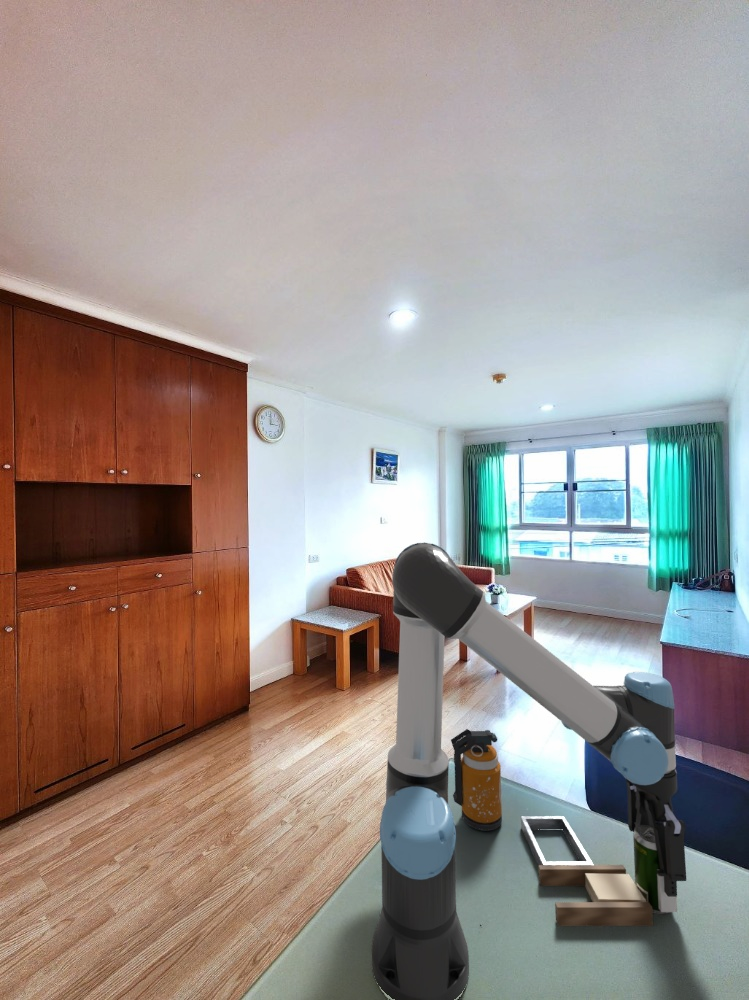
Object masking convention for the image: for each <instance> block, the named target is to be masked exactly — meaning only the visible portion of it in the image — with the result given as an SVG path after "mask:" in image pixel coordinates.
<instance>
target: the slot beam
mask: <svg viewBox="0 0 749 1000" xmlns="http://www.w3.org/2000/svg"><path fill="white" fill-rule="evenodd" d="M537 866H538V883H539V885H540V886H541V887H542V886H543V887H567V886H568V887H570V886H571V887H585V873H596V874H627V869H626V866H625V865H624V864H593V865H538V864H537ZM554 909H555V910H554V912H555V922H556V924H557V927H561V926H562V927H565V926H567V927H572V926H573V927H574V926H575V927H576V926H578V927H579V926H580V927H581V926H583V927H586V926H587V927H589V926H590V927H596V926H597V927H598V926H600V927H601V926H603V927H609V926H610V927H611V926H615V927H616V926H617V927H618V926H619V927H620V926H622V927H624V926H625V927H628V926H629V927H636V926H637V927H640V926H641V927H643V926H644V927H645V926H647V927H649V926H650V927H651V926H654V920H653V919H654V917H653V912H652V906H651V905H650V903H649V902H593V901H591V902H589V901H587V902H586V901H582V902H581V901H575V902H574V901H571V902H570V901H568V902H567V901H566V902H565V901H564V902H563V901H562V902H561V901H560V902H559V901H556V902H554Z"/></svg>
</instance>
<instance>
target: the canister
mask: <svg viewBox="0 0 749 1000" xmlns="http://www.w3.org/2000/svg"><path fill="white" fill-rule="evenodd" d="M450 742H451V744H452V748H453V750H454V751H453V764H454V792H453V793H452V797H453V801H454V803H456V804H458V805H459V806H461V818H462V819H463V821H464V822H465V824H467V825H468V826H469V827H471V828H473V829H476V830H479V831H493V830H496V829H498V828H499V827H500V826H501V825H502V822H503V814H502V813H503V809H502V808H503V807H502V805H503V804H502V775H501V772H502V771H501V769H502V768H501V763H500V761H499V753H498V751H497V750H496V748H495V747H494V746H493V745H492V743H496V742H498V737H497V736H496V733H494V732H491V730H490V729H486V730H470V729H468V728H466V729H465V730H463V731H462V732H460V733H458V734H457V735H455V736H454V737H453V738H451V739H450Z"/></svg>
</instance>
